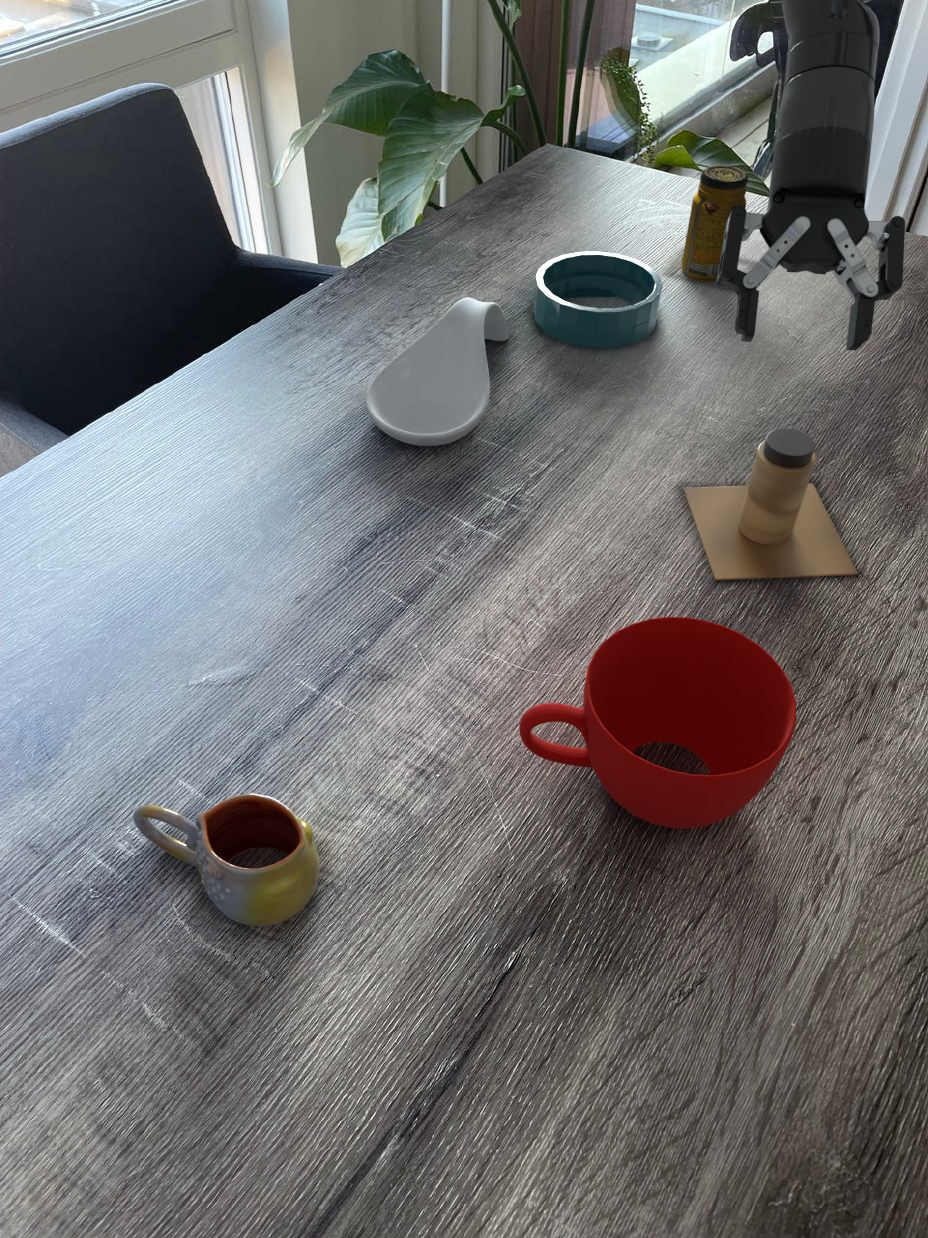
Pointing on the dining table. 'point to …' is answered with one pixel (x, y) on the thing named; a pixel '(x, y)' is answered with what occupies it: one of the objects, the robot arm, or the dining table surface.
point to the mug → (234, 832)
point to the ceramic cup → (676, 719)
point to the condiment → (711, 220)
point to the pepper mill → (777, 486)
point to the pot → (596, 280)
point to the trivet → (742, 558)
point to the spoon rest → (439, 378)
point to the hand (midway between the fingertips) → (800, 343)
